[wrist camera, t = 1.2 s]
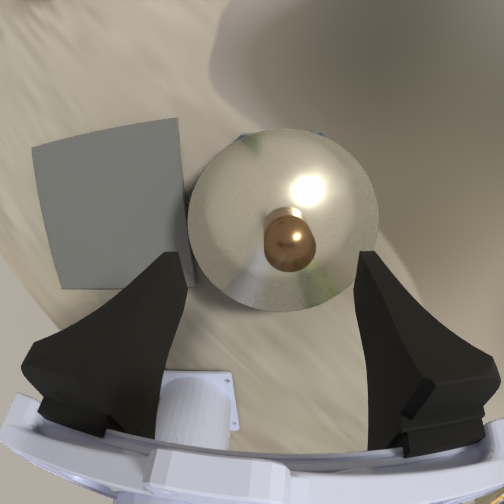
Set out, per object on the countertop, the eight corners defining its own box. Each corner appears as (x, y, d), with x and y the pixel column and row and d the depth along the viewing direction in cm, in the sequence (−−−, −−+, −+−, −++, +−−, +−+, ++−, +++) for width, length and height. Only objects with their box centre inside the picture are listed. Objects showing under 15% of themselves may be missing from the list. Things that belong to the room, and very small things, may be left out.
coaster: (196, 283, 26) (195, 286, 26) (65, 285, 27) (62, 288, 26) (177, 117, 21) (175, 117, 21) (35, 146, 22) (31, 147, 21)
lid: (366, 298, 24) (384, 333, 19) (202, 306, 24) (192, 343, 20) (375, 129, 19) (403, 132, 15) (181, 135, 19) (161, 139, 15)
